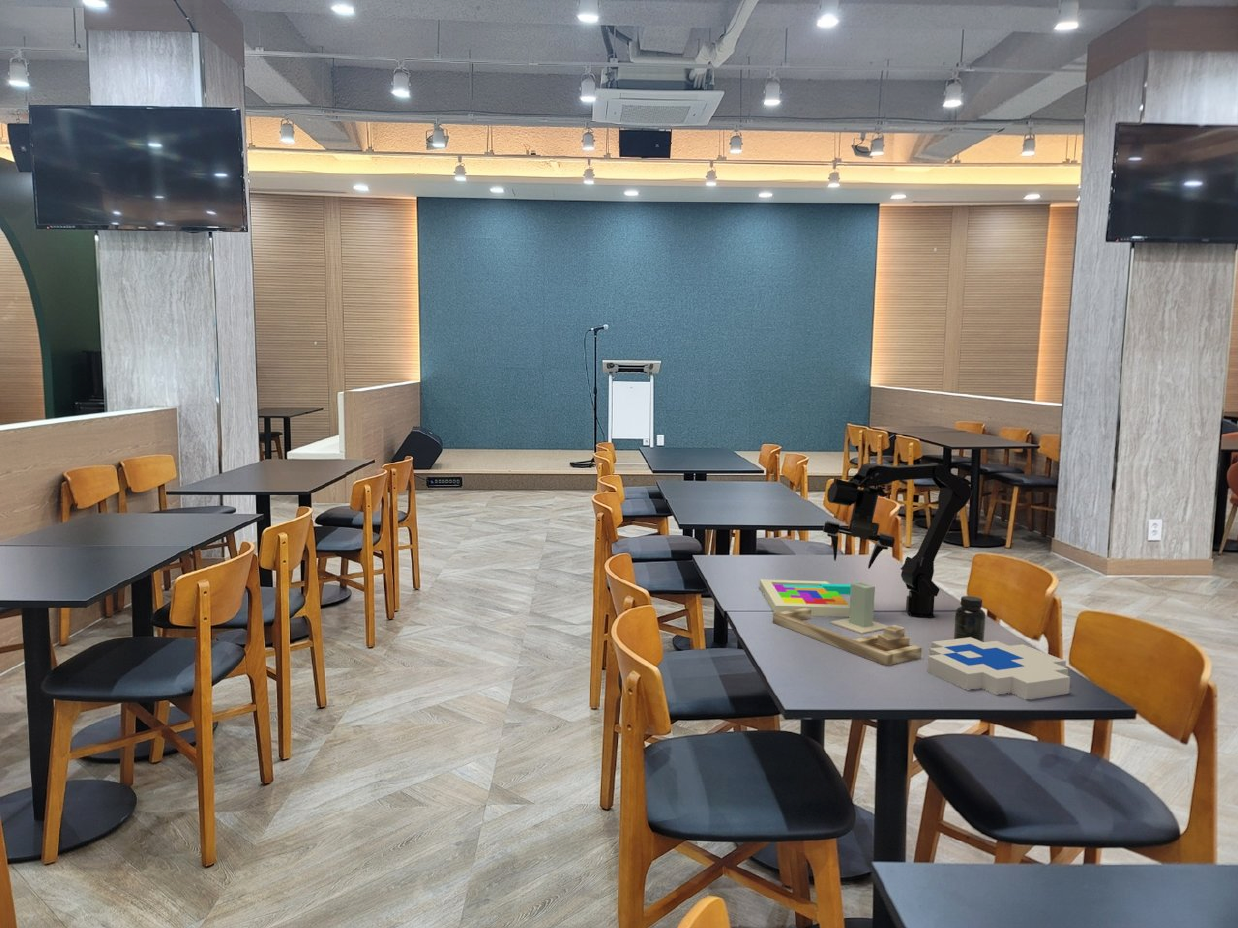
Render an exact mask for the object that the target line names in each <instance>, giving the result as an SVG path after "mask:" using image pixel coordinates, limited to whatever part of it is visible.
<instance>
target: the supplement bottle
mask: <svg viewBox="0 0 1238 928" xmlns="http://www.w3.org/2000/svg"><path fill="white" fill-rule="evenodd" d="M960 605H961V606H959V607H958V608H956V610H955V615H954V617H955V619H954V629H953V630H954V631H953V639H960V638H969V637H971V638H974V639H976V640H979V641H981V642H985V629H986V618H987V617H986V612H985V611H984V610H983V609H982V608H983V599H982V598H981V597H977V596H972V595H971V596H970V595H965V596H961V598H960Z"/></svg>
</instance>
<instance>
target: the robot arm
mask: <svg viewBox="0 0 1238 928" xmlns="http://www.w3.org/2000/svg"><path fill="white" fill-rule="evenodd" d="M922 479H923V480H924V479H931V480H932V482H933V483H934V485H935V486H936V487H937V488H938V489H939V493H938V496H937V497H938V498H937V499H938V502H937V503H938V505H937V506H938V507H937V510H936V512H935V514H934V516H933V518H932V520H931V523H930V525H929V526H928V529H927V531H926V532H925V533H926V534H925V536H924V538H923V540H922V543H921V544H920V546H919V548H918V551H917V553H916V554H915V555H914V556H913V557H909V556H906V557H905V560H904V563H903V565H902V567H900V570H901V573H900V576H901V580H902V581H903V583H905V585H906V589H907V590H909V591H908V595H907V596H906V600H905V601H906V603H905V604H906V605H905V611H907V613H908V615H910V616H911V617H918V618H919V617H923V618H935V617H936V615H935V614H934V609H935V597H937V596H938V595H939V592H940V587H938V586H937V585H936V583H934V581H933V577H934V573H935V565H934V564H935V559H936V557H937V555H938V552H939V550H940V548H941V547H942V545H943V542H944V541H945V538H946V536H947V533H948V531H949V529H950V527H951V526H952V523H953V520H954V518H955V516H956V515H957V514H958V513H959V512H960V511H962V510H963V509H964V508H965V506H966V505H967V504H968V503H969V501H970V499H971V498H972V494H973V490H972V487H971V486H970V484H969V483H968V482H965V481H962V480H961V479H960V478H958V477H957V476H956V475H954V474H953V473H952V472H951V471H949V469H947V468H946V467H945V466H944V465H943V464H941V463H936V462H930V463H924V464H923V463H922V464H920V463H919V464H907V465H904V464H903V465H893V466H891V465H885V464H879V463H868V462H866V463H863V464H861V465H860V467H859V470H858V472H856V473H855V474H854V475H853V476H852V477H851V478H850V479H849V480H848V481H847V480H842V479H840V478H836V477H835V478H834V479H833V482H832V483H831V484H830V486H829V488H827V493H826V495H827V497H826V498H827V502H829V503H830V504H835V505H840V506H846V507H851V506H852V505H853V508H852V510H851V511H852V512H851V517H850V521H849V526H848V527H844V526H840V525H841V524H840V523H838V522H835V521H829V520H826V521H825V522H824V524H823V528H822V529H823V530H822V531H823V533H826V534H827V537H830V538H831V544H832V550H833V560H834V562H835V561H837V556H838V555H837V554H838V544H839V534H843V535H846V536H851V537H852V538H859V539H863V540H864V541H865V540H866V541H867V540H870V541H874V542H875V543H874V547H873V550H872V552H871V555H870V558H869V562H868V566H867V569H871V567H872V565H873V564H874V562H875V561H876V559H877V557H878V556H879V555H880V553H882V551H883V550H888V549H889V548H894V544H895V542H896V541H895V538H894V536H893V535H892V534H888V533H884V532H881V531H880V532H879V530H880V523H877V522H874V515H875V512H876V508H877V503H878V498H879V496H880V497H881V496H882V497H887V493H886V492H885V491H884V489H883V487H882V486H885V485H888V484H891V483H893V482H895V481H896V482H897V481H907V480H908V481H910V480H922ZM872 486H873V487H872ZM860 488H861V489H860ZM888 547H889V548H888Z"/></svg>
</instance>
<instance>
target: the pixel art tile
mask: <svg viewBox="0 0 1238 928" xmlns="http://www.w3.org/2000/svg"><path fill="white" fill-rule="evenodd" d="M1066 663H1067V660H1064V659H1062V658H1060V657H1057V656H1054V655H1051V654H1049V653H1046V652H1044V651H1041V650H1039V649H1036V648H1033V647H1030V646H1028V645H1026V644H1023V643H1021V644H1013V645H1008V644H1006V643H1003V642H1001V641H999V640H992V641H984V642H981V641H979V640H976V639H974V638H971V637H969V638H960V639H954V638H952V639H944V640H936V641H935V640H934V641H931V643H930V648H929V654H928V657H927V669H926V671H927V672H928V673H929V674H931V675H934V676H936V677H938V678H939V679H942V678H943V679H942V680H944V679H945V681H946V682H947V683H950V684H952V685H954V684H955V685H954V686H957V687H958V686H959V687H958V688H960V687H961V689H962V688H963V690H965V689H966V690H965V691H967V690H968V691H972V690H971V689H975V690H980V688H982V690H984V689H985V690H984V691H986V690H987V691H986V692H988V691H989V692H988V693H990V692H991V694H992V693H993V694H992V695H994V694H995V696H1000V695H999V694H1002V695H1006V693H1008V694H1011V693H1012V695H1014V694H1015V695H1014V696H1016V695H1017V696H1016V697H1018V696H1019V697H1018V698H1020V697H1022V698H1024V699H1023V700H1025V699H1030V700H1035V699H1036V698H1037V699H1042V698H1048V697H1055V696H1061V695H1067V694H1069V693H1070V686H1071V684H1070V683H1071V676H1069V675H1068V673H1069V668H1067V667H1066ZM1022 698H1021V699H1022Z"/></svg>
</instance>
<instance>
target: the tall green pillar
mask: <svg viewBox="0 0 1238 928" xmlns="http://www.w3.org/2000/svg"><path fill="white" fill-rule="evenodd" d="M875 590H876V586H873V585H870V584H867V583H865V582H864V583H863V582H854V583H851V595H849V596H850V598H849V600H850V602H849V605H850V613H849V617H848V618H849V623H852V624H855V625H857V626H860V627H863V628H864V627H869V626H873V621H874V611H875V610H874V609H875V593H876V591H875Z"/></svg>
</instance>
